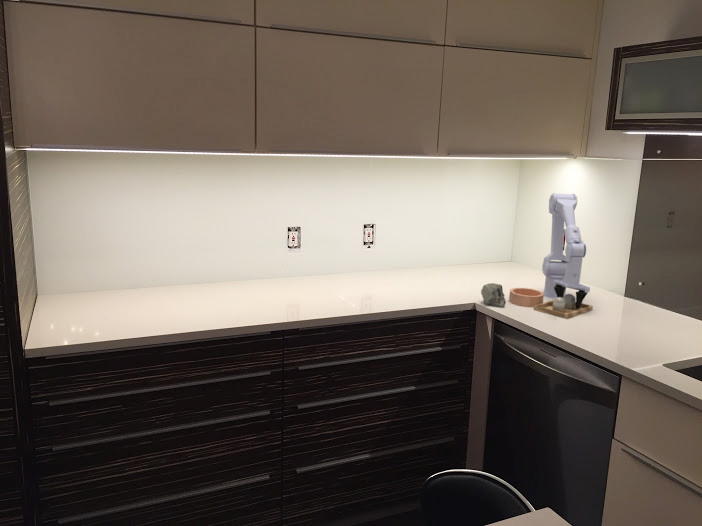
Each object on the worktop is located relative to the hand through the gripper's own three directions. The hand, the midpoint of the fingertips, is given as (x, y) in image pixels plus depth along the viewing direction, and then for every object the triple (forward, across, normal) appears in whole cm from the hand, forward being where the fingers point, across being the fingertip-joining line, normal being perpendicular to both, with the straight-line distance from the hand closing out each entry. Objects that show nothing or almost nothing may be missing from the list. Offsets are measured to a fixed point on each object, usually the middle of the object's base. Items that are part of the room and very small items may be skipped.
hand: (568, 306), depth 241 cm
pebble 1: (+1, 0, -8) cm, 8 cm away
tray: (+1, 0, -4) cm, 4 cm away
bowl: (+1, -15, -7) cm, 17 cm away
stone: (+2, -22, -20) cm, 30 cm away
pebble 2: (+1, 0, 0) cm, 1 cm away
